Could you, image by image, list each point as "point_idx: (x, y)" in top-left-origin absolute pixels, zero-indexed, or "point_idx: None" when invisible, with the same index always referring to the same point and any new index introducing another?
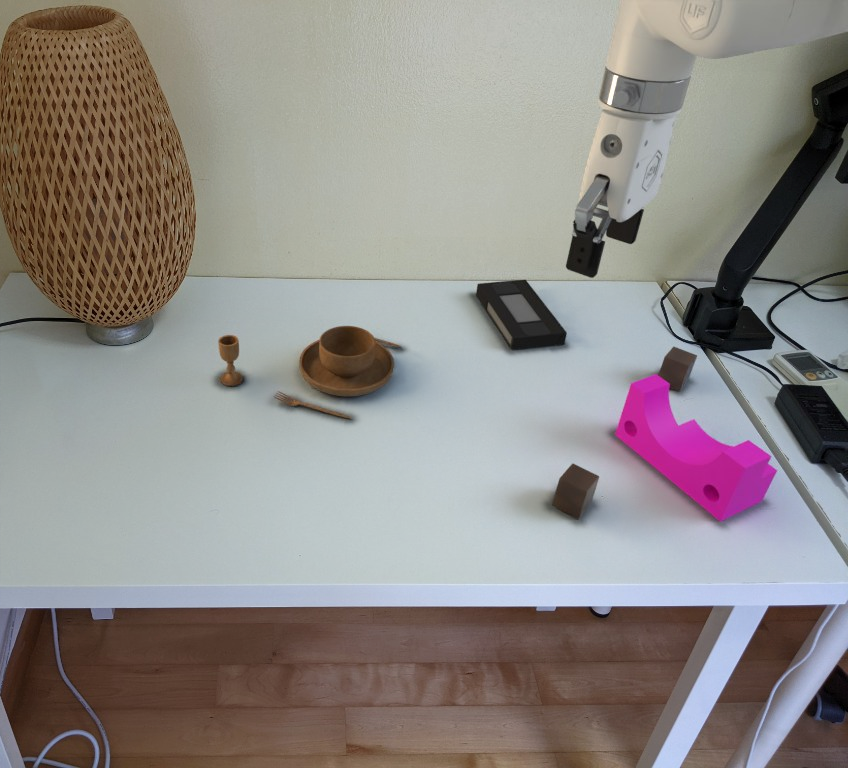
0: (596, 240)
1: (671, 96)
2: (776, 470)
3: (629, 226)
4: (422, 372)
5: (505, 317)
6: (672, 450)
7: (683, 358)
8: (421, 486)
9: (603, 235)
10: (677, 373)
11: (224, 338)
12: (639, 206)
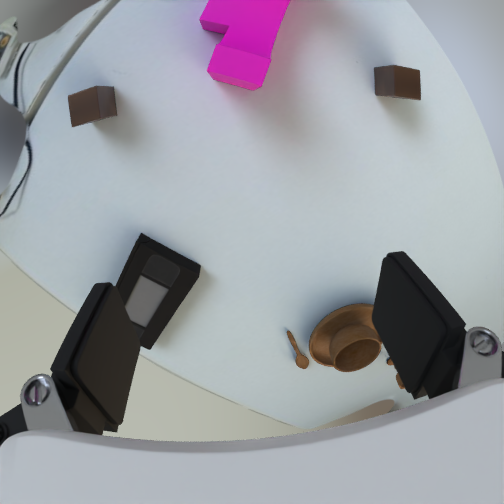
0: (493, 338)
1: None
2: None
3: (104, 338)
4: (305, 297)
5: (173, 303)
6: (274, 16)
7: (86, 101)
8: (436, 201)
9: (469, 351)
10: (105, 95)
11: (403, 386)
12: (350, 472)
